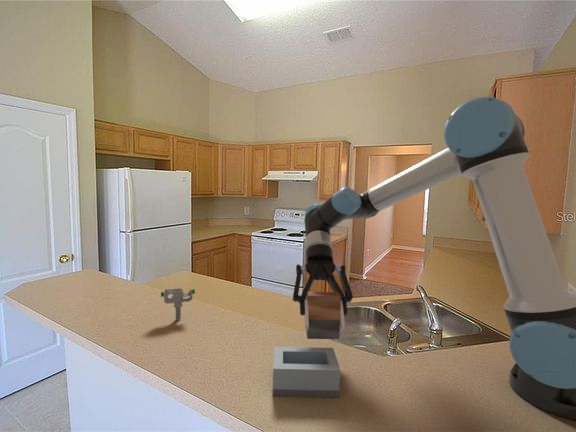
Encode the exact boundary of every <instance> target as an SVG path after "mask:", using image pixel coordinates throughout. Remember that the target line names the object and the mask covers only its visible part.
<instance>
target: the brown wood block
mask: <svg viewBox="0 0 576 432" xmlns="http://www.w3.org/2000/svg"><path fill="white" fill-rule="evenodd" d="M306 300H308V317H309V327H308V330H305V331H306V338H307V340H340V334H341V333H340V331H341V330H340V306H341V296H340V294H339V292H334V291H309V292H308V295H307V297H306Z"/></svg>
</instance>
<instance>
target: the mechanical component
mask: <svg viewBox="0 0 576 432" xmlns="http://www.w3.org/2000/svg"><path fill="white" fill-rule="evenodd" d="M183 290H184V289H183V288H171V289H163V291H160V297H161V298H163V301H164V303H165V304H174V305H173V308H175V321H177V322H179V321H181V318H182V315H181V314H182V313H181V311H182V310H181V308H182V307H183V303H188V302H191V301H192V300H193V295H195V293H196V290H195V289H194V288H192V287H191V288H189V290H188V292H185V291H183ZM170 295H172V296H170Z"/></svg>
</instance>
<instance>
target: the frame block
mask: <svg viewBox="0 0 576 432" xmlns="http://www.w3.org/2000/svg"><path fill="white" fill-rule="evenodd" d="M273 352H274V353H273V371H272V397H293V398H294V397H296V398H297V397H298V398H300V397H301V398H302V397H305V398H306V397H307V398H340V388H341V386H340V384H341V369H340V365H339V362H338V358H337V355H336V352H335V349H334V347H314V346H312V347H311V346H310V347H309V346H307V347H306V346H305V347H304V346H274V351H273Z"/></svg>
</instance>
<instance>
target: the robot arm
mask: <svg viewBox="0 0 576 432" xmlns="http://www.w3.org/2000/svg"><path fill="white" fill-rule="evenodd" d="M444 125H445V126H444V128H443V139H444V141H445V145H446V146H447V147H446V148H445V149H442V150H441V151H438V152H437V153H435V154H433V155H431V156H429V157H427V158H426V159H424V160H422V161H420V162H418V163H417V164H415V165H413V166H411V167H409V168H407V169H404V170H403V171H401V172H399V173H397V174H396V175H394V176H392V177H390V178H388V179H386V180H384V181H383V182H381V183H379V184H376V185H374V186H373V187H371V188H369V189H368V190H366V191H364V192H362V193H359V194H358V193H357V192H356V191H355V190H354V189H352V188H350V187H348V186H345V187H342V188H341V189H339V190H338V191H336V192H334V194H333V195H332V196H330V197H329V198H328V199H326V200H325V202H324V203H322V204H318V203H315V204H313V205H309V206H308V207H307V208H306V210H305V212H304V229H305V230H304V231H305V233H304V234H305V250H306V251H305V253H306V256H305V257H306V258H305V259H306V263H305V265H301V264H298V263H297V264H296V266H295V273H296V278H295V282H294V289H293V293H292V294H293V295H292V302H295V303H296V302H297V303H298V304H299V314H300V316H304V330H305V331H306V330H308V327H309V317H308V300H307V295H308V292H311V291H310V290H311V288H312V285H313V284H314V281H326V282H327V284H328V285H329V286H330V288H331V290H332V292H339V294H340V296H341V306H340V331H344V330H345V328H346V321H345V317H347V316H348V315H347V314H348V304H347V303H351V302H352V300H353V297H354V295H353V292H352V289H351V286H350V283H349V280H348V278H347V275H346V274H347V273H346V266H345V265H344V264H343V265H341V266H338V265H336V264H335V263H334V256H333V249H332V248H333V246H332V239H331V229H333V228H334V227H336V226H338V225H339V224H340V223H342V222H343V221H346V220H353V219H355V220H356V219H370V218H373V217H375V216H377V215H378V214H379V212H381V211H383V210H386V209H388V208H389V207H392V206H394V205H396V204H398V203H400V202H401V203H402V202H403V201H404V200H408V199H409V198H411V197H413V196H415V195H418V194H420V193H422V192H425V191H427V190H429V189H431V188H433V187H435V186H437V185H439V184H442V183H444V182H447V181H449V180H451V179H453V178H455V177H457V176H459V175H461V176H462V177H464V178H467V179H469V180H470V181H472V182H473V186H474V189H475V193H476V195H477V198H478V202H479V205H480V208H481V212H482V214H483V217H484V220H485V223H486V224H485V225H486V227H487V230H488V233H489V236H490V239H491V243H492V245H493V249H494V253H495V255H496V258H497V261H498V265H499V268H500V271H501V274H502V277H503V279H504V280H503V281H504V283H505V287H506V289H507V293H508V298H507V299H506V301H505V302H504V303H503V306H502V307H503V310H504V312H505V316H506V320H507V322H508V325H509V329H510V332H511V333H510V334H509V340H508V342H509V351H510V354H511V356H512V358H513V360H514V364H513V366H512V367H511V369H510V371H509V380H508V383H509V386H510V387H511V389H512V390H513V392H515V393H516V394H517V395H518V396H519V397H520V398H522V399H523V400H525V401H527V402H528V403H530V404H531V405H533V406H535V407H537V408H539V409H540V410H543V411H546V412H547V413H550V414H553V415H556V416H558V417H562V418H566V419H569V420H575V421H576V294H574V293H571V292H569V291H568V290H567V288H566V286H565V283H564V279H563V277H562V274H561V271H560V268H559V266H558V262H557V260H556V257H555V254H554V251H553V249H552V244H551V242H550V239H549V238H548V234H547V230H546V229H545V225H544V222H543V220H542V216H541V214H540V211H539V209H538V208H539V207H538V206H537V203H536V200H535V197H534V194H533V191H532V189H531V185H530V183H529V180H528V177H527V174H526V172H525V167H524V164H525V163H526V161H528V158H529V157H530V152H529V149H528V146H527V144H526V140H525V135H526V133H525V130H526V129H525V126H524V123H523V121H522V119H521V118H520V117H519V116H518V115H517V114H516V113H515V112H514V110H513V108H512V106H511V105H510V104H508V103H507V102H506V101H505V100H502V99H500V98H496V97H493V96H480V97H475V98H472V99H470V100H467V101H465V102H464V103H462V104H460V105H458V107H456V109H455V110H453V112H452V113H451V114H450V115H449V116H448V119H447V120H446V122H445V124H444ZM305 272H307V273H308V275H309V277H308V279H307V281H306V283H305V286H304V288H303V290H302V292H301V294H300V295H299V293H300V286H301V281H302V275H304V273H305ZM335 272H336V274H337V275H338V276H339V281H340V284H341V286H339V284H338V282H337V279H336V278H335V275H334V273H335ZM341 287H342V288H341Z"/></svg>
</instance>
